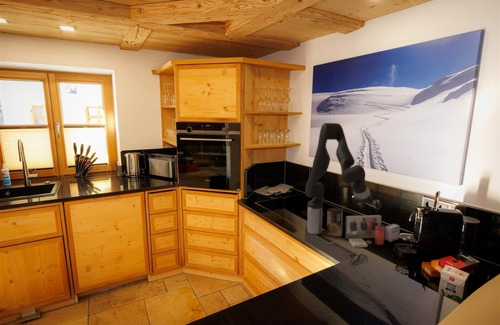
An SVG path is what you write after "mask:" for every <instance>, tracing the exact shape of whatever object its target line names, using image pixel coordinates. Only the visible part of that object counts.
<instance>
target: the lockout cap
mask: <svg viewBox="0 0 500 325" xmlns="http://www.w3.org/2000/svg"><path fill="white" fill-rule="evenodd" d="M375 229H376V233H375V238H374V243H375V244H376V245H378V246H383V245H384V244H385V243H384V242H385V226H383V225H381V226H375Z"/></svg>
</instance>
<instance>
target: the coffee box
mask: <svg viewBox="0 0 500 325" xmlns="http://www.w3.org/2000/svg"><path fill="white" fill-rule="evenodd" d="M326 213H327V214H326V215H327V216H326V221H327V222H326V235H328V236H334V237H335V236H336V237H342V235H343V213H344V212H343V209H341V208H331V207H328V209H327V211H326Z"/></svg>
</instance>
